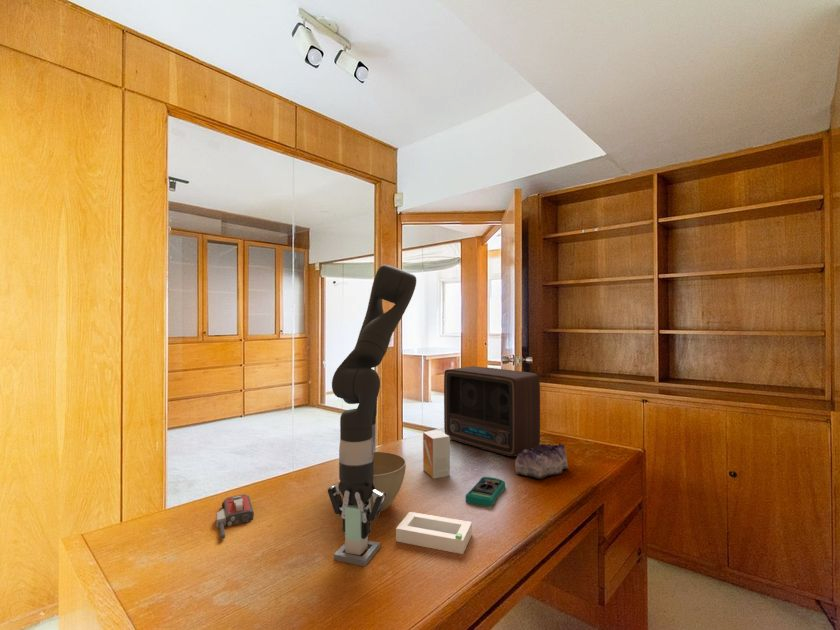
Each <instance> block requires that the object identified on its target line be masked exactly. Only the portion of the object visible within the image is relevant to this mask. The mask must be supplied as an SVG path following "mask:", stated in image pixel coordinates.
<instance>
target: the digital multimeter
mask: <svg viewBox="0 0 840 630" xmlns="http://www.w3.org/2000/svg"><path fill="white" fill-rule="evenodd" d="M505 489H506V482H505V481H504V480H503V479H500V478H497V477H492V476H491V477H490V476H482V477H481V478H480V479H479V480H478V482H477V483H476V484H475V485H474V486H473V487H471V489H470V490H469V491H468V492H467V493H466V494H465V502H466V503H468V504H472V505H476V506H481V507H487V508H492V507H493V506H494V504H495V502H496V500H497V498H498V497H499V496H501V495H500V494H502V493H503V491H504V490H505Z"/></svg>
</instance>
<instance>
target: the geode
mask: <svg viewBox="0 0 840 630" xmlns="http://www.w3.org/2000/svg"><path fill="white" fill-rule="evenodd" d="M567 456H568V455H567V451H566V448H565V445H564V444H563V443H559V444H555V445H552V444H551V443H549V444H544V443H541V444H539V446H537V447H534V448H531V449H530V448H529V449H528V450H527V449H525V450H523V452H522V453H520V454H518V455H517V456H516V459H515V461H514V469H515V474H516V475H522V476H525V477H530V478H531V477H532V478H535V479H544V478H545V477H548V476H554V475H555V476H557V475H562V473H563V470H568V469H569V465H568V457H567Z"/></svg>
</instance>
